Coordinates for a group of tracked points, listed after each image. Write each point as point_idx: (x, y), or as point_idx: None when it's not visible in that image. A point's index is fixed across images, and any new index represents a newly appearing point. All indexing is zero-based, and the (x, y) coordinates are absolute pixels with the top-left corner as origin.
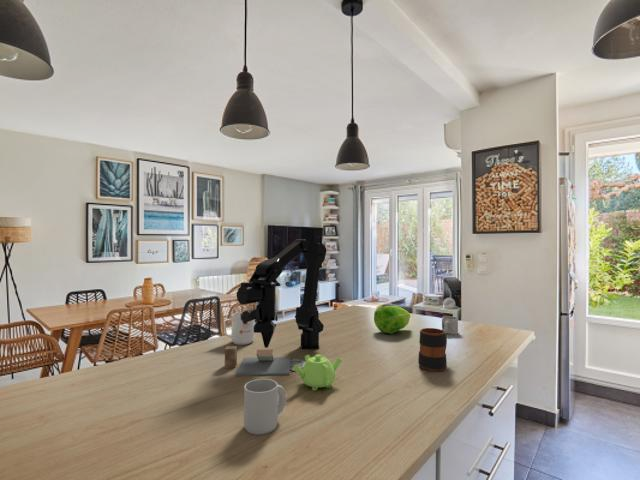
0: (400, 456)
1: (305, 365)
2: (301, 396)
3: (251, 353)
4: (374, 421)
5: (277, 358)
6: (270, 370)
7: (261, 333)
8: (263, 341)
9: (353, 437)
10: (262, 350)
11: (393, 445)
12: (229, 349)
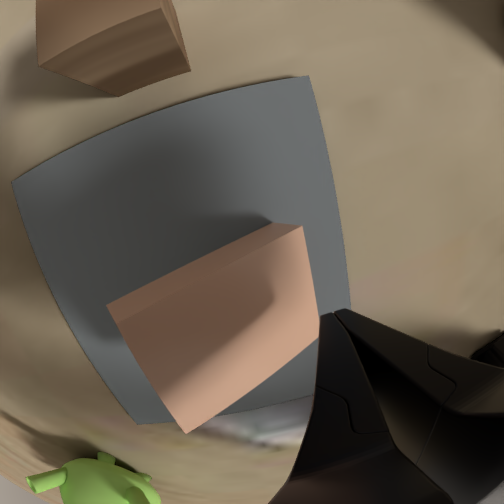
0: (20, 485)
1: (71, 502)
2: (37, 439)
3: (434, 105)
4: (55, 493)
5: None
6: (122, 355)
7: (290, 474)
8: (317, 360)
9: (9, 467)
10: (141, 367)
11: (29, 488)
12: (38, 16)
